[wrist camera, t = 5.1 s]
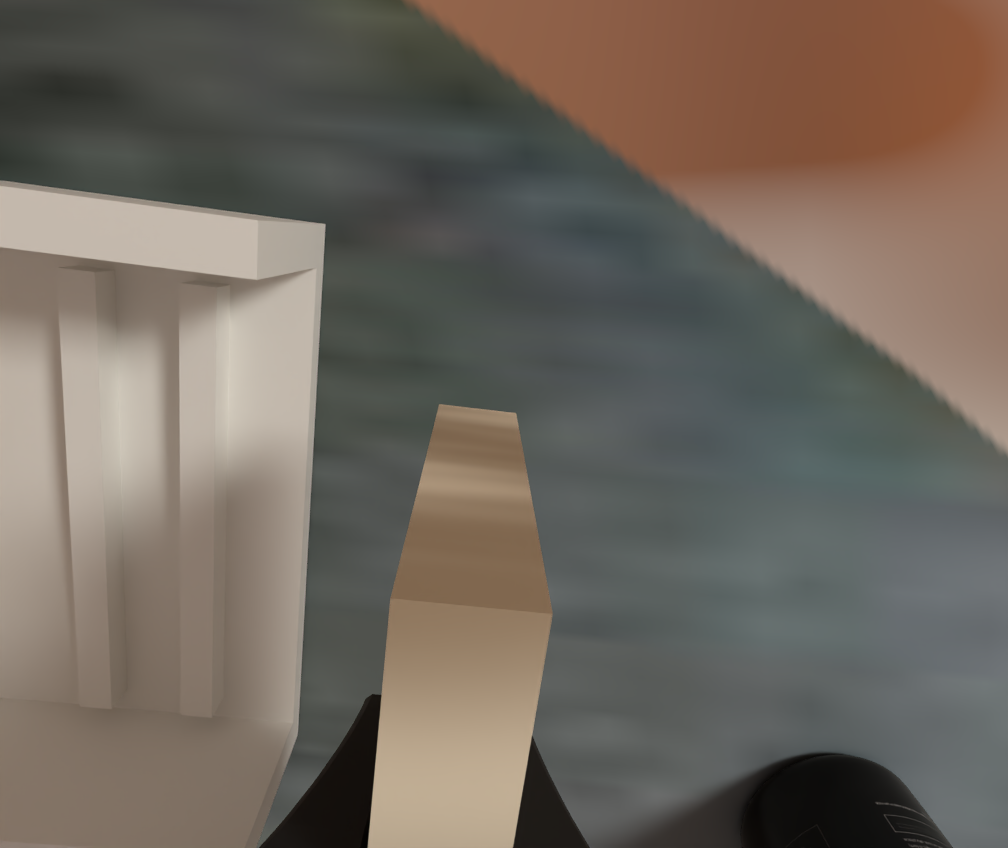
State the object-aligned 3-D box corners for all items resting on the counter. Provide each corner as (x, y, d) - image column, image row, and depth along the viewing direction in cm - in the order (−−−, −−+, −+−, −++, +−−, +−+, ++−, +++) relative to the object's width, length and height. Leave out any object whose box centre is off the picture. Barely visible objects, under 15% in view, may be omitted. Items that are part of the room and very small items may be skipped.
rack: (297, 734, 24) (240, 891, 18) (-106, 700, 23) (-300, 854, 17) (325, 224, 19) (258, 220, 13) (-184, 155, 18) (-490, 120, 13)
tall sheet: (454, 858, 17) (432, 1317, 10) (392, 854, 17) (324, 1315, 10) (516, 412, 14) (552, 613, 7) (439, 404, 14) (391, 597, 6)
